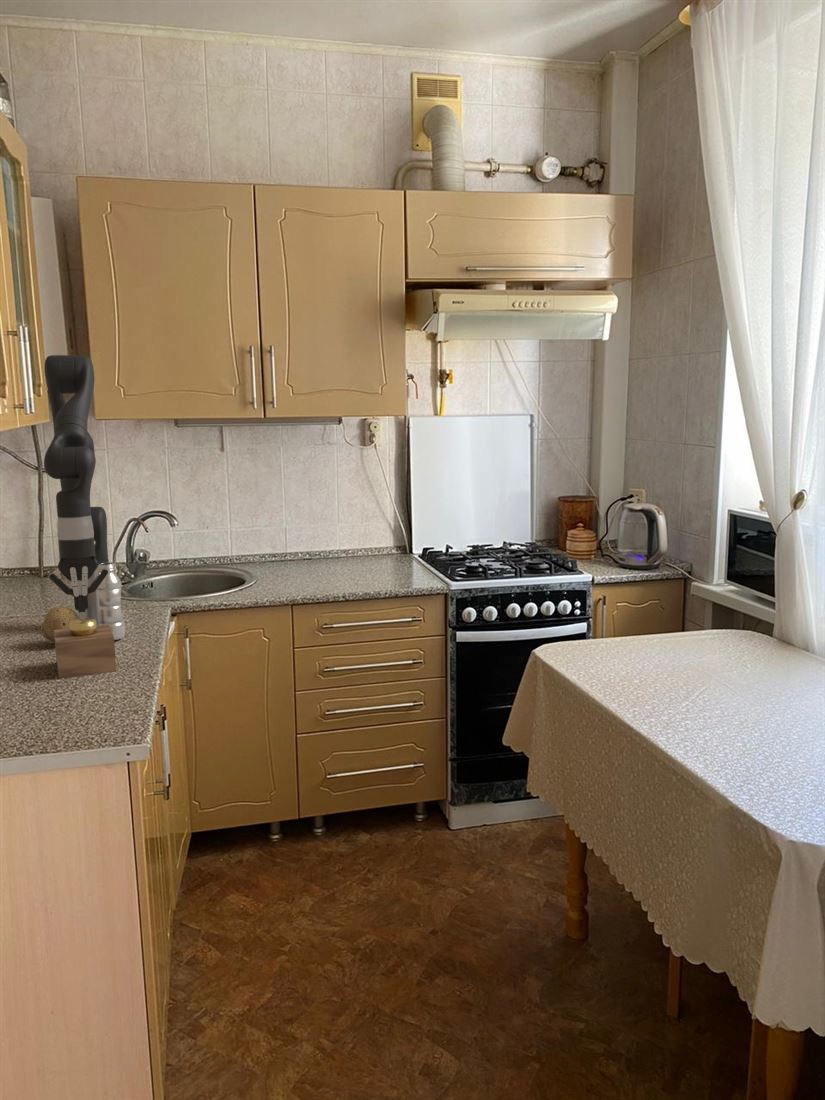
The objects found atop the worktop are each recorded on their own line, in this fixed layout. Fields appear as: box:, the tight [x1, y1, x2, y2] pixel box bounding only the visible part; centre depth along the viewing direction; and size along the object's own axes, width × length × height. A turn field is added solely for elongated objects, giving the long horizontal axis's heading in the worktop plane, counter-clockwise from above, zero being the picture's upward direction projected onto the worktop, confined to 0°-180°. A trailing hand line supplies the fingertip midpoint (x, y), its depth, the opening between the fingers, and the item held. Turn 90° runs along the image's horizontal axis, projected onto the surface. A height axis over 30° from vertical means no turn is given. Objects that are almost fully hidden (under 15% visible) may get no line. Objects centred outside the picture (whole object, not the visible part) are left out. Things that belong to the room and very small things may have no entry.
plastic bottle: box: [96, 562, 126, 641], centre depth 214 cm, size 6×7×20 cm
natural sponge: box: [40, 605, 79, 644], centre depth 211 cm, size 9×9×10 cm
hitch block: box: [54, 624, 117, 679], centre depth 191 cm, size 13×12×8 cm
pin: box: [70, 619, 97, 636], centre depth 191 cm, size 6×6×10 cm
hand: (81, 611), depth 190 cm, fingers closed
